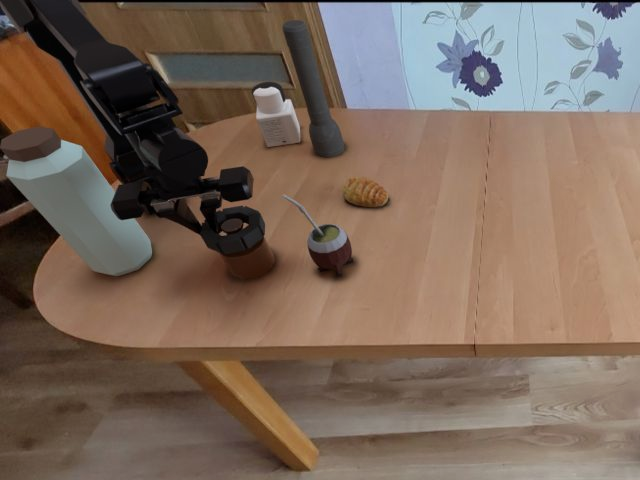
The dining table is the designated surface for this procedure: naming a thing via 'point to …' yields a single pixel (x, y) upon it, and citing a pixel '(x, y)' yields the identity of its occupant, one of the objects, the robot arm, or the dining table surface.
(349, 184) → the pastry
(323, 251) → the mate gourd
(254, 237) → the black octagonal ring
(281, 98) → the container
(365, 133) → the dining table surface
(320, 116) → the flashlight
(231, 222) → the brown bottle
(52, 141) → the water bottle
